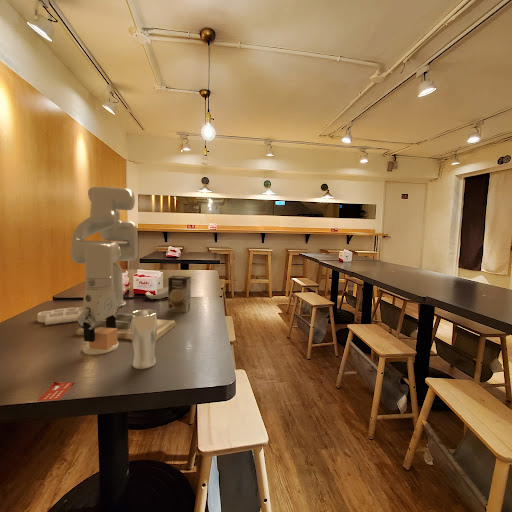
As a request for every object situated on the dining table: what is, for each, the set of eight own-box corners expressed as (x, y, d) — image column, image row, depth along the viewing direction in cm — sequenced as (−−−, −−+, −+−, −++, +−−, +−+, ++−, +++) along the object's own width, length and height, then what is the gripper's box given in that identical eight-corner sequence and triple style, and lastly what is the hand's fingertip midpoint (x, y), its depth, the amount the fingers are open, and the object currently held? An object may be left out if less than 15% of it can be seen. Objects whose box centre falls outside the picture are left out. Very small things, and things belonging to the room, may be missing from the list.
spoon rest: (147, 302, 142) (147, 289, 141) (144, 297, 152) (144, 284, 152) (191, 298, 154) (191, 285, 153) (186, 293, 164) (186, 281, 163)
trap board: (76, 334, 97) (75, 322, 96) (106, 320, 113) (106, 309, 112) (154, 341, 93) (154, 328, 92) (175, 325, 108) (175, 314, 108)
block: (89, 348, 84) (89, 332, 84) (100, 341, 89) (100, 327, 89) (107, 349, 84) (106, 334, 83) (117, 343, 89) (117, 328, 88)
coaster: (74, 353, 82) (74, 350, 82) (98, 340, 92) (98, 338, 92) (104, 356, 81) (104, 353, 81) (125, 342, 91) (125, 340, 91)
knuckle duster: (34, 328, 102) (39, 317, 114) (90, 321, 112) (89, 311, 124) (34, 320, 102) (39, 310, 114) (90, 313, 112) (89, 304, 124)
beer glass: (136, 358, 80) (135, 309, 79) (160, 358, 81) (160, 309, 80) (127, 370, 73) (126, 316, 72) (153, 370, 74) (153, 316, 73)
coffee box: (167, 311, 126) (167, 277, 125) (172, 307, 133) (172, 275, 131) (186, 312, 125) (186, 278, 124) (191, 308, 132) (191, 276, 130)
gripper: (89, 289, 76) (91, 347, 78) (127, 278, 93) (128, 326, 95) (65, 287, 77) (68, 345, 79) (107, 276, 94) (108, 324, 96)
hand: (100, 334), depth 87 cm, fingers open, 9 cm apart
